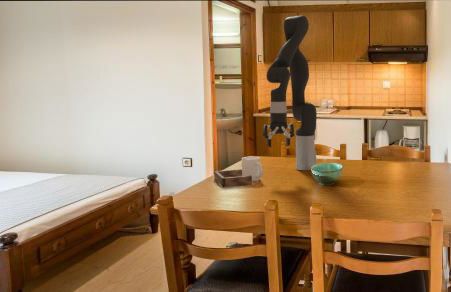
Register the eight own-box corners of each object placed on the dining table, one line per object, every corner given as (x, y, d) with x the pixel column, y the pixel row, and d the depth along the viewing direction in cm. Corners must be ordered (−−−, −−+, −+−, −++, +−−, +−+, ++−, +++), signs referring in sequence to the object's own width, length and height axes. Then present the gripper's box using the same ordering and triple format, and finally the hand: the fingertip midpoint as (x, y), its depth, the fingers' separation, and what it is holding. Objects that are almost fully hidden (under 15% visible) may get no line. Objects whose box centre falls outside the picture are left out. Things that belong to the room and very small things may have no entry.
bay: (241, 177, 240) (241, 169, 239) (251, 185, 223) (251, 176, 222) (214, 179, 237) (214, 171, 236) (222, 187, 220) (222, 178, 219)
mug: (269, 181, 230) (268, 158, 228) (255, 184, 225) (254, 161, 223) (252, 177, 239) (252, 155, 238) (238, 179, 234) (238, 158, 233)
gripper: (290, 110, 236) (290, 145, 238) (261, 111, 233) (261, 146, 235) (296, 111, 228) (296, 147, 231) (266, 112, 225) (266, 148, 228)
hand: (278, 146), depth 233 cm, fingers open, 8 cm apart
